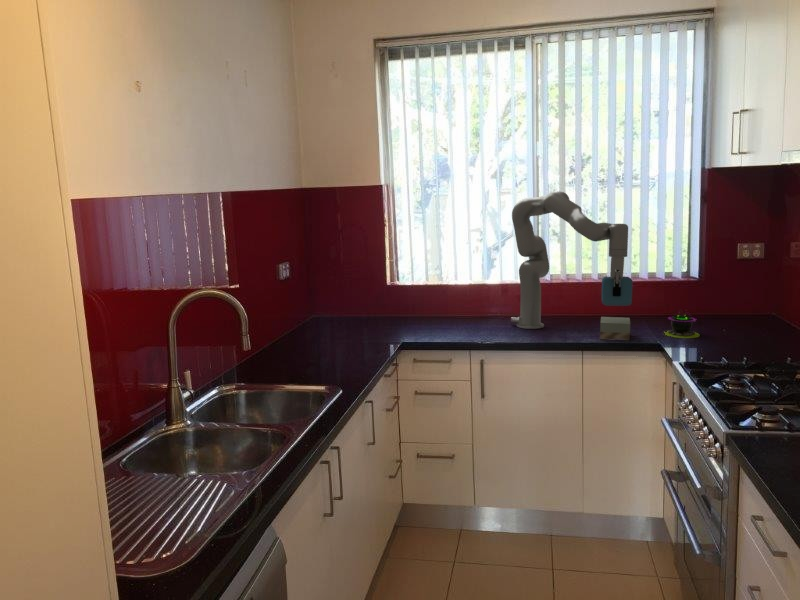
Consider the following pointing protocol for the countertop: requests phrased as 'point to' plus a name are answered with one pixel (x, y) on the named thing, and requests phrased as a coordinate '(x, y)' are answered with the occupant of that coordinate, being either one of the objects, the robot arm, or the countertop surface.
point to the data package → (617, 300)
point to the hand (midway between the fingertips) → (616, 294)
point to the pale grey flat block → (615, 324)
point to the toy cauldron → (681, 327)
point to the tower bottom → (614, 335)
